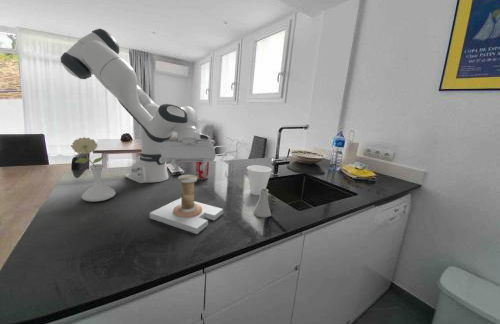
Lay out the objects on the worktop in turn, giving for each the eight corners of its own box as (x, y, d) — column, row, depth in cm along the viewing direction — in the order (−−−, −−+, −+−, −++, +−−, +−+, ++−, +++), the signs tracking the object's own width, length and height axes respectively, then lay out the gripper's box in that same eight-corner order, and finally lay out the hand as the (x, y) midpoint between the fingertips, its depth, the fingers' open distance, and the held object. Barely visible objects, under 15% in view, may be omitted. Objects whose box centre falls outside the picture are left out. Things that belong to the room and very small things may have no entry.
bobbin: (174, 210, 77) (174, 177, 74) (186, 203, 83) (186, 173, 80) (189, 214, 74) (189, 181, 72) (200, 207, 80) (200, 176, 77)
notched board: (149, 218, 76) (149, 210, 75) (181, 202, 90) (181, 195, 89) (196, 234, 68) (196, 226, 67) (222, 213, 82) (223, 207, 82)
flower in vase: (118, 192, 96) (113, 135, 90) (113, 202, 85) (108, 139, 80) (82, 194, 90) (75, 135, 85) (72, 206, 80) (63, 139, 75)
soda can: (210, 177, 125) (211, 157, 122) (204, 180, 118) (205, 159, 115) (199, 175, 127) (199, 155, 124) (193, 179, 120) (193, 157, 117)
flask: (250, 210, 87) (252, 187, 84) (266, 209, 89) (268, 186, 87) (257, 219, 80) (259, 194, 78) (274, 217, 83) (277, 192, 80)
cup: (249, 197, 99) (251, 171, 96) (242, 188, 110) (244, 165, 107) (273, 196, 103) (275, 171, 100) (264, 187, 114) (266, 165, 111)
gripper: (160, 135, 83) (159, 166, 76) (214, 136, 89) (217, 165, 82) (161, 144, 88) (160, 174, 81) (212, 145, 94) (215, 173, 87)
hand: (189, 170), depth 82 cm, fingers open, 8 cm apart
